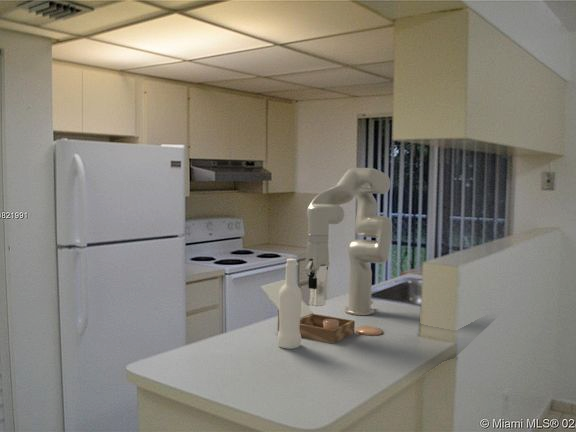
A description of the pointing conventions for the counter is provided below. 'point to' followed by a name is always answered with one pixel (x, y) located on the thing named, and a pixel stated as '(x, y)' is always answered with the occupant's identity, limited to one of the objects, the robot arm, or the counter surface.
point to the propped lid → (273, 295)
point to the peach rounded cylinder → (330, 324)
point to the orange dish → (369, 330)
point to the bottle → (290, 309)
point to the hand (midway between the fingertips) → (317, 286)
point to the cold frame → (325, 334)
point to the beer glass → (319, 287)
